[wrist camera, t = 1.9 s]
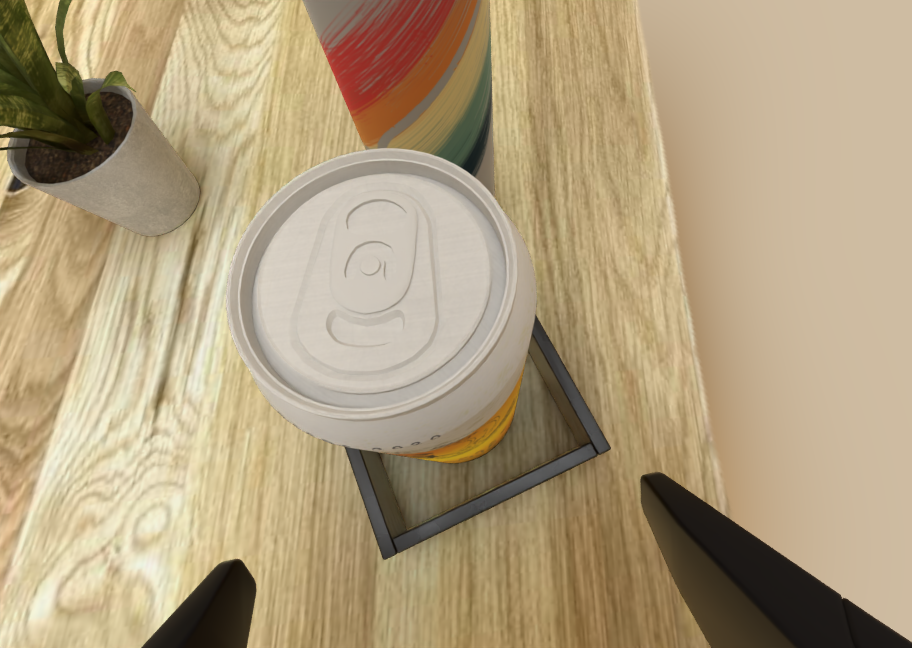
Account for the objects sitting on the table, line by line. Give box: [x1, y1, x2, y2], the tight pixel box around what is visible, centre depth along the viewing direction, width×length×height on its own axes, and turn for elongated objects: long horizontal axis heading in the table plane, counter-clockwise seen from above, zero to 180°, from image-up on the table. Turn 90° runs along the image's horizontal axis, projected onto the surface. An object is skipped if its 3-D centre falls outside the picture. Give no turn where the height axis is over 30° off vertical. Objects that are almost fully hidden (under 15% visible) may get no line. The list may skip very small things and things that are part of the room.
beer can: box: [226, 148, 537, 463], centre depth 15 cm, size 6×6×15 cm
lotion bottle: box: [303, 0, 495, 198], centre depth 16 cm, size 6×6×20 cm
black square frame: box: [345, 314, 611, 560], centre depth 20 cm, size 10×10×3 cm
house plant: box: [0, 0, 200, 236], centre depth 20 cm, size 14×14×16 cm
